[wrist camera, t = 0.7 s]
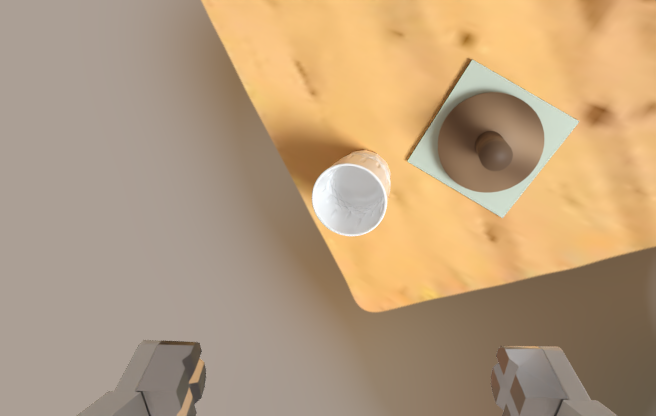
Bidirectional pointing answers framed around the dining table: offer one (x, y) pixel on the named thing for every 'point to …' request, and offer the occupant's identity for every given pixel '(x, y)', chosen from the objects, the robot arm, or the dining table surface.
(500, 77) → the mat
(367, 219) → the white cup
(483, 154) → the lid
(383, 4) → the dining table surface
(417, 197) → the dining table surface
